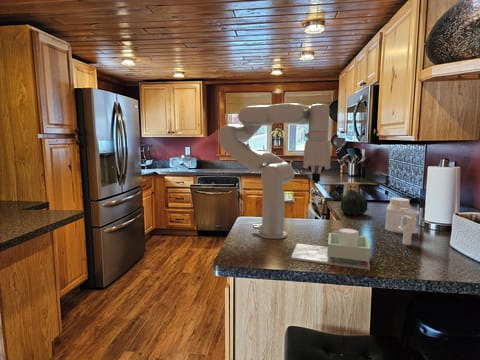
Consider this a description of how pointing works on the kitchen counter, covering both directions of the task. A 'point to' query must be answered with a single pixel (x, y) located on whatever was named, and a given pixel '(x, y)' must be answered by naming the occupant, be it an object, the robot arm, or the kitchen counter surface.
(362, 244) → the pale green open box
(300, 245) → the white flat board
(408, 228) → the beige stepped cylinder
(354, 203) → the squash
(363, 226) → the kitchen counter surface
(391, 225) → the jar
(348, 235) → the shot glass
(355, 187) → the candy box
